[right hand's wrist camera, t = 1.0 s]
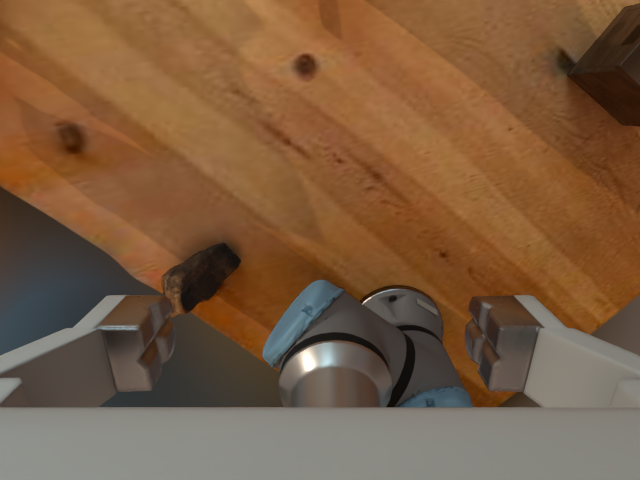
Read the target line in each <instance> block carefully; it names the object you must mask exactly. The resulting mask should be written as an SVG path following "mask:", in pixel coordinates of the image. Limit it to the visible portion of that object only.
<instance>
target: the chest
mask: <svg viewBox="0 0 640 480" xmlns="http://www.w3.org/2000/svg"><path fill="white" fill-rule="evenodd" d="M639 36H640V3H639V4H635V5H631V6H627V7H624V9H623V10H622V11H621V12H620V13H619V14H618V16H617V17H616V18H615V19H614V20H613V21H612V23H611V24H610V25H609V26H608V27H607V28H606V30H605V31H604V32H603V33H602V34H601V36H600V37H599V38H598V39H597V40H596V41H595V43H594V44H593V45H592V46H591V47H590V48H589V50H588V51H587V52H586V53H585V54H584V55H583V57H582V58H581V59H580V60H579V61H578V63H577V64H576V65H575V66H574V67H573V68H572V70H571V71H570V72H569V73H568V74H567V75H568V76H569V77H570V78H571V79H572V80H573V81H574V82H575V83H577V84H578V85H579V86H580V87H581V88H582V89H583V90H584V91H585V92H587V93H588V94H589V95H590V96H591V97H592V98H593V99H594V100H595V101H597V102H598V103H599V104H600V105H601V106H602V107H603V108H604V109H605V110H606V111H608V112H609V113H610V114H611V115H612V116H613V117H614V118H615V119H616V120H618V121H619V122H620V123H621V124H622V125H628V126H629V125H630V126H640V92H639V91H638V90H637V89H636V88H635V87H634V86H633V85H632V84H631V83H630V82H628V81H627V80H626V79H625V78H624V77H623V76H622V75H621V74H620V73H619V72H618V71H617V70H616V69H615V68H614V67H613V66H614V65H615V64H616V62H617V61H618V60H619V59H620V58H621V57H622V56H623V55H624V53H625V52H626V51H627V50H628V49H629V48H630V47H631V45H632V44H633V43H634V42H635V41H636V40H637V39H638V38H639Z"/></svg>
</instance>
